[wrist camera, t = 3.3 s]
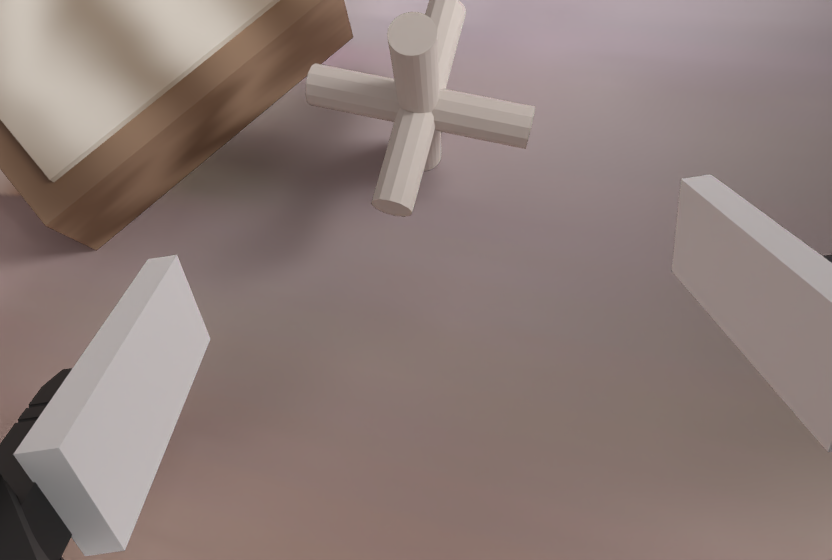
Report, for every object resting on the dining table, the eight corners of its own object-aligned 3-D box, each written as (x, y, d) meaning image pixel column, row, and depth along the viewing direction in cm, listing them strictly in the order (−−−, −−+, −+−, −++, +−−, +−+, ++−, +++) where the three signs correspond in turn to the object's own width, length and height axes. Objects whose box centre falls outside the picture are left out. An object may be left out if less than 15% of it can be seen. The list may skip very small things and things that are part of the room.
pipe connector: (537, 89, 31) (576, -58, 22) (496, 265, 29) (519, 188, 20) (358, 55, 33) (319, -100, 23) (307, 221, 30) (240, 128, 21)
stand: (164, -142, 37) (127, -214, 32) (353, 37, 33) (339, -19, 29) (-76, 37, 35) (-149, -16, 30) (96, 250, 31) (40, 223, 27)
